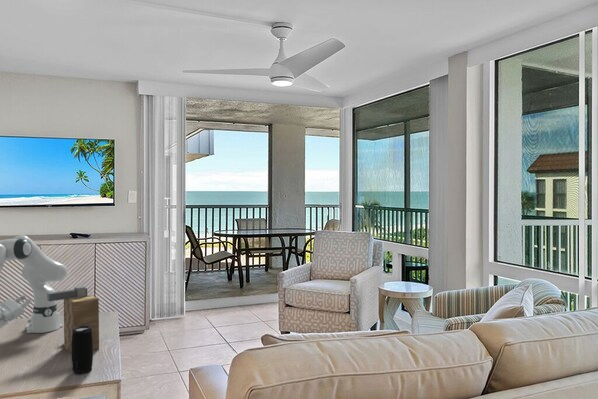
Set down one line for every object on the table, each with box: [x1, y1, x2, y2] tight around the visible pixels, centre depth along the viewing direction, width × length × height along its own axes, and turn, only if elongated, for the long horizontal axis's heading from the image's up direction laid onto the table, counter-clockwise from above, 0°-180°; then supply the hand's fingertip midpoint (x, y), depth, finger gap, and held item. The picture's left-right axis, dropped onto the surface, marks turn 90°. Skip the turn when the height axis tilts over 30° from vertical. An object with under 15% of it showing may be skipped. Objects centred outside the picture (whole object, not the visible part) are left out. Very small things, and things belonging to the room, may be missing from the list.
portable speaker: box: [71, 325, 94, 375], centre depth 207 cm, size 9×9×20 cm
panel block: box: [63, 293, 100, 354], centre depth 236 cm, size 15×12×26 cm
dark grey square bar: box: [47, 285, 88, 302], centre depth 235 cm, size 5×18×5 cm, turn 134°
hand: (27, 298), depth 222 cm, fingers open, 8 cm apart
